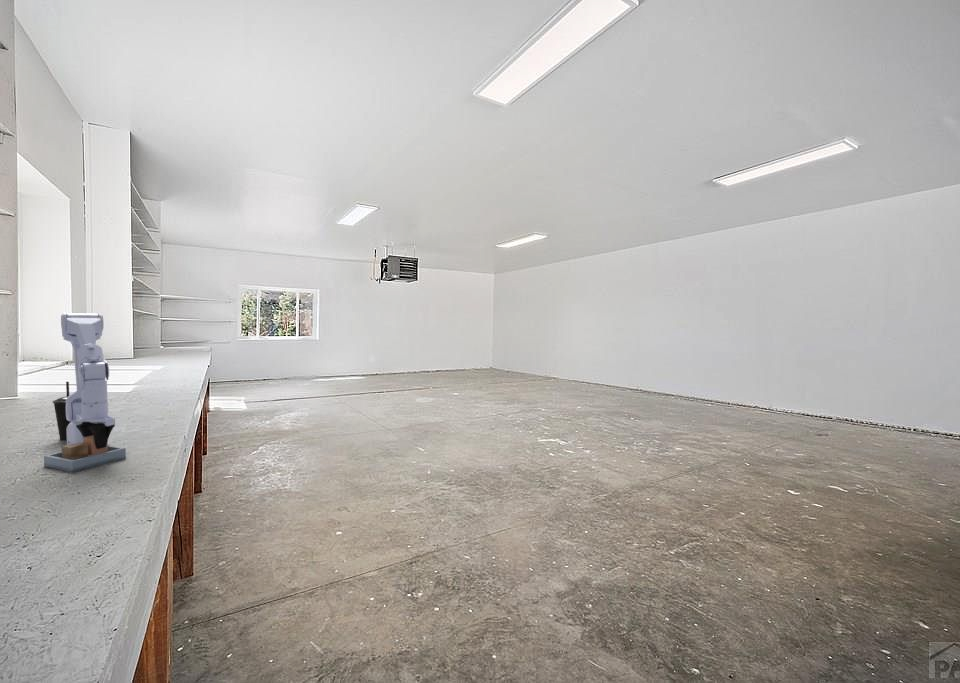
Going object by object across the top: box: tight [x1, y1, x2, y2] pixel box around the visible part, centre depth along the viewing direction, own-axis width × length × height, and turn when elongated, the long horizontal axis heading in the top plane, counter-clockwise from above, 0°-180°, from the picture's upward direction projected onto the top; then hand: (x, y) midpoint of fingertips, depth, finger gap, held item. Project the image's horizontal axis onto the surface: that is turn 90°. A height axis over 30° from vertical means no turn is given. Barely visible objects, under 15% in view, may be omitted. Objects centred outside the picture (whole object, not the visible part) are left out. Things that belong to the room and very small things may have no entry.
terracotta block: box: [83, 435, 109, 455], centre depth 126 cm, size 4×4×5 cm
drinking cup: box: [52, 381, 82, 441], centre depth 147 cm, size 8×8×20 cm
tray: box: [43, 444, 127, 473], centre depth 124 cm, size 13×13×3 cm
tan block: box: [61, 442, 88, 460], centre depth 122 cm, size 4×4×5 cm
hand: (96, 447), depth 126 cm, fingers closed on terracotta block, 4 cm apart
